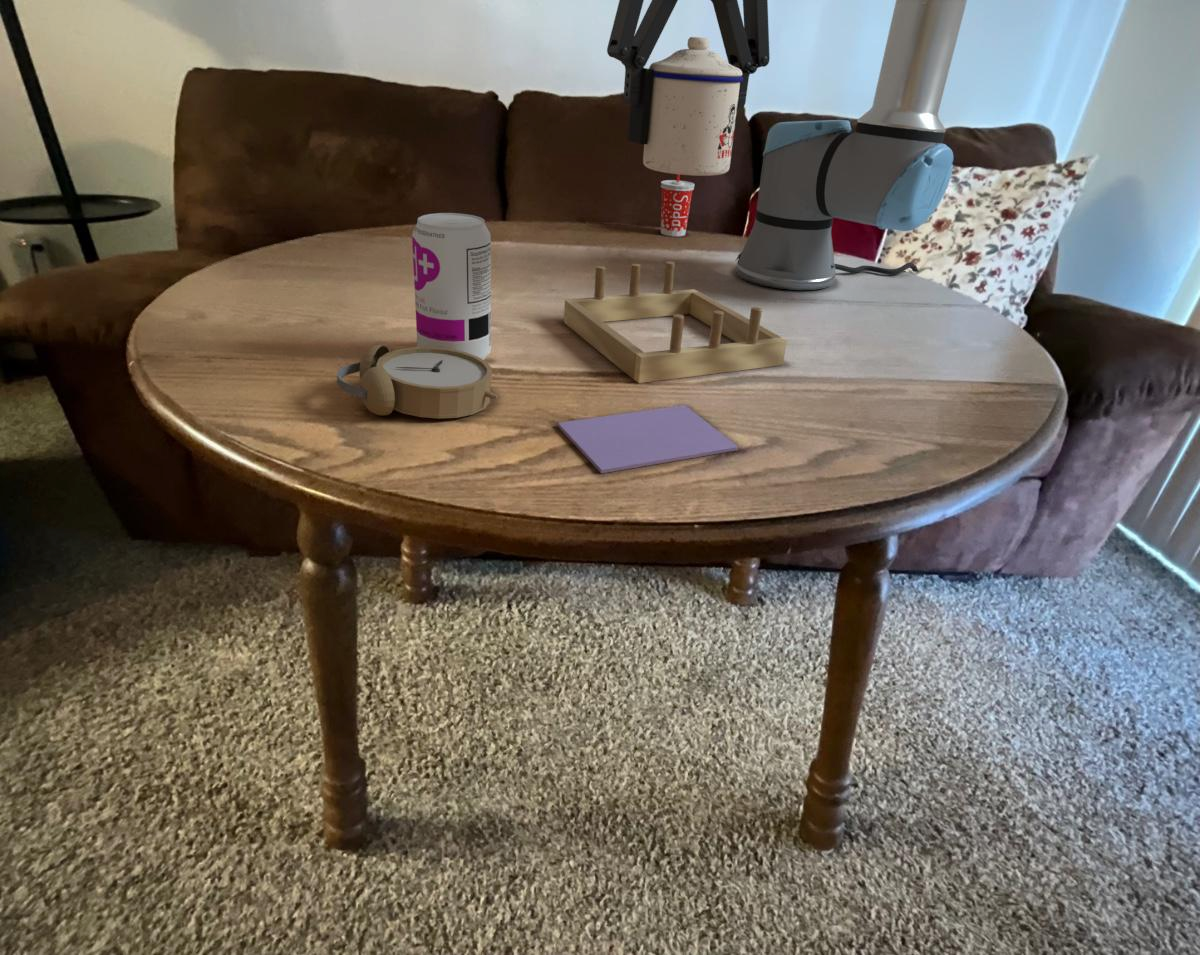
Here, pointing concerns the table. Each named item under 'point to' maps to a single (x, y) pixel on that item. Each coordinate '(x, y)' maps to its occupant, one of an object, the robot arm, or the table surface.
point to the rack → (672, 331)
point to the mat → (645, 438)
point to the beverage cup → (675, 206)
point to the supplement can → (453, 282)
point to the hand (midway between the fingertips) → (681, 142)
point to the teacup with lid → (692, 112)
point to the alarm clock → (420, 382)
